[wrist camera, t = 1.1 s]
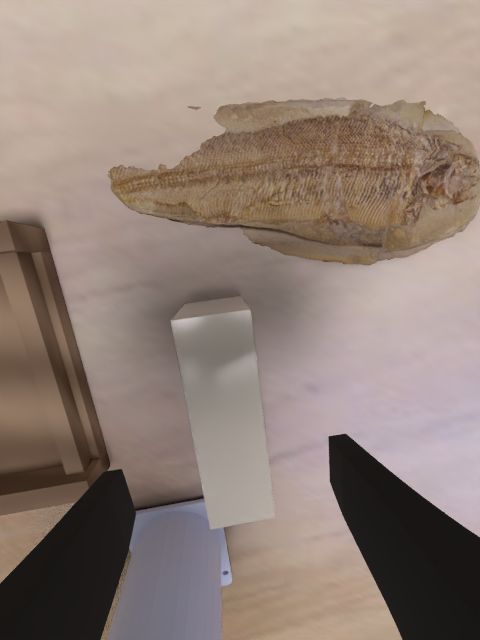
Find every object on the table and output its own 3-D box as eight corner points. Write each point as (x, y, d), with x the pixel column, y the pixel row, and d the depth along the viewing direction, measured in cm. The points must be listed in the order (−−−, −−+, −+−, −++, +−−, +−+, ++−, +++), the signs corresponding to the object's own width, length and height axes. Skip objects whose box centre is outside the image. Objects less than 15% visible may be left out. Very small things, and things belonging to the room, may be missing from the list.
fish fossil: (117, 264, 18) (110, 262, 16) (98, 100, 16) (89, 86, 15) (469, 248, 19) (484, 246, 18) (479, 98, 18) (497, 85, 17)
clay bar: (259, 448, 21) (275, 517, 16) (212, 456, 21) (210, 530, 15) (240, 295, 19) (250, 309, 13) (185, 303, 18) (170, 320, 12)
